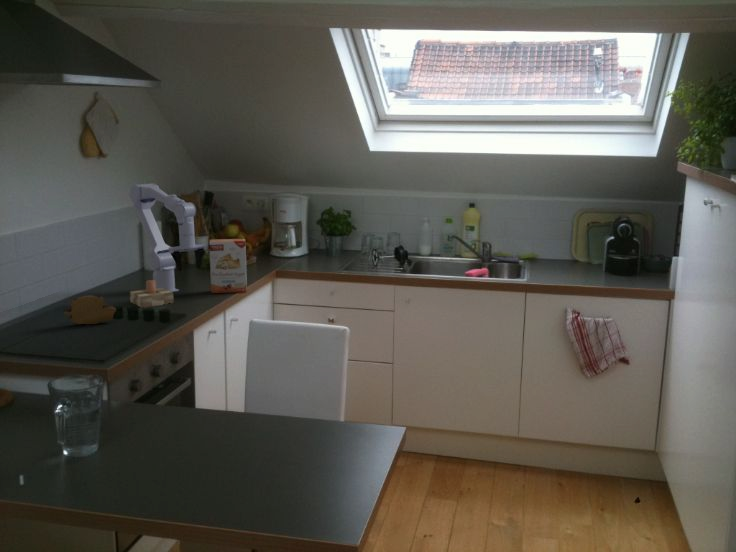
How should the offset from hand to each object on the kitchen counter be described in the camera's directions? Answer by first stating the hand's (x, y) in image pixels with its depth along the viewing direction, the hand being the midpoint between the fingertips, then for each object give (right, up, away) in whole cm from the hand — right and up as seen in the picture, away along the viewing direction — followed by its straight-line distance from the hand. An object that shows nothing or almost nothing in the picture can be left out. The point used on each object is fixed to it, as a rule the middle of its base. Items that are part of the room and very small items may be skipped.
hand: (189, 269), depth 287 cm
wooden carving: (-23, -19, -39) cm, 49 cm away
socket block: (-12, -12, -9) cm, 19 cm away
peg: (-12, -12, -9) cm, 19 cm away
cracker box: (+14, -9, +9) cm, 19 cm away
